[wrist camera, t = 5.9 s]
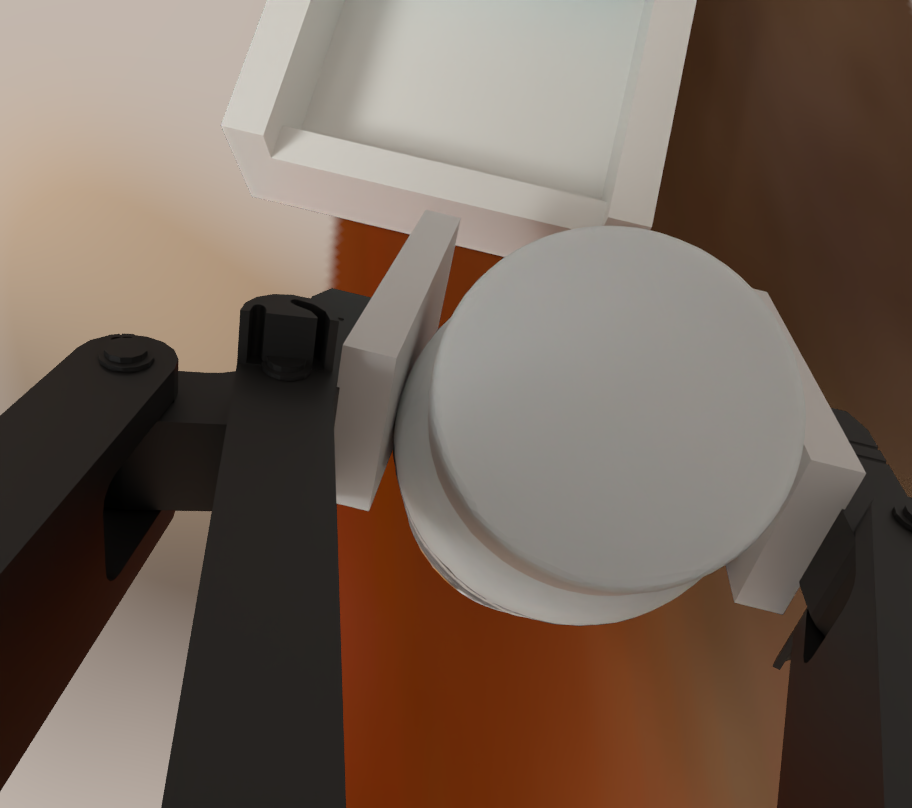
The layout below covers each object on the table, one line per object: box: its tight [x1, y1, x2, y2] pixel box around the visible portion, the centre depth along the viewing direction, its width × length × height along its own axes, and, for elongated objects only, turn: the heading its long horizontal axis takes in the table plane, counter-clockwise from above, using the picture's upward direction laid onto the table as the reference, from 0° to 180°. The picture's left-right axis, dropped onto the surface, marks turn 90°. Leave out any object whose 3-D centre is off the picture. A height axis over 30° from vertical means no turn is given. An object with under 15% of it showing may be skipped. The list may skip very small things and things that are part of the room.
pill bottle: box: [393, 226, 806, 626], centre depth 14 cm, size 6×6×10 cm
